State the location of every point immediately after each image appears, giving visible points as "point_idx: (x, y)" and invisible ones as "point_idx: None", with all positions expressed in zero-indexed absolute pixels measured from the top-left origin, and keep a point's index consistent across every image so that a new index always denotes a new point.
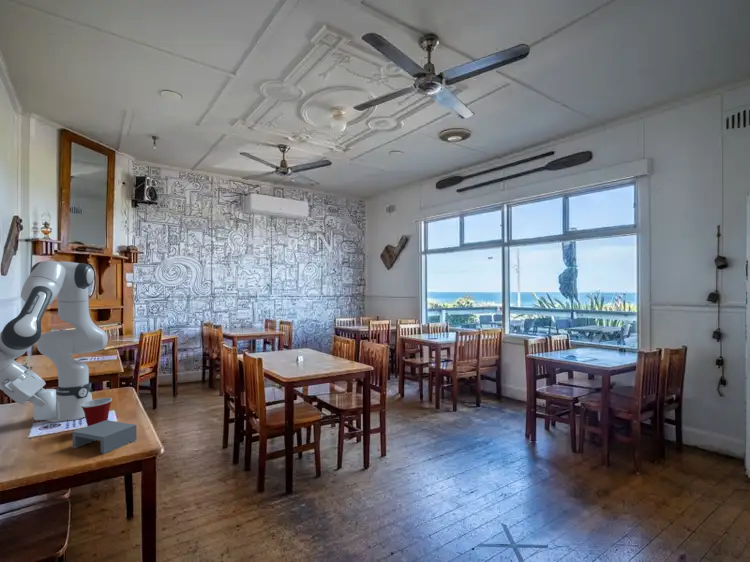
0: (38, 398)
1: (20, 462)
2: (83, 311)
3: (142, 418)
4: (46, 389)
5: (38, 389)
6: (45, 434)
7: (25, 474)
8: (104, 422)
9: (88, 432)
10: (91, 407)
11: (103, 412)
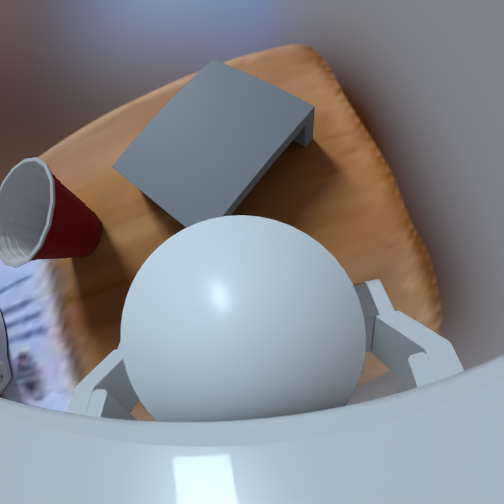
0: (423, 329)
1: None
2: None
3: (52, 148)
4: (134, 357)
5: (256, 425)
6: (75, 378)
7: (414, 309)
8: (136, 161)
9: (240, 171)
10: (53, 211)
11: (64, 187)
